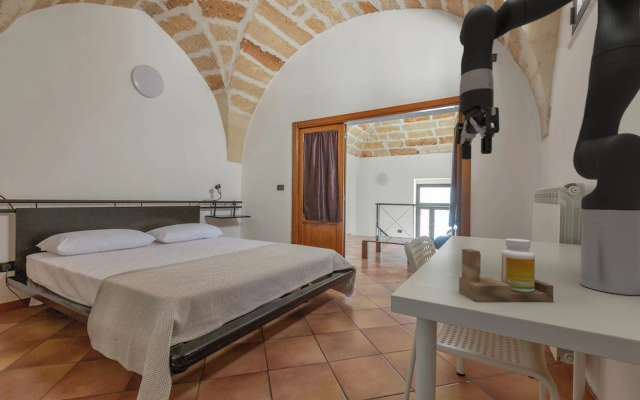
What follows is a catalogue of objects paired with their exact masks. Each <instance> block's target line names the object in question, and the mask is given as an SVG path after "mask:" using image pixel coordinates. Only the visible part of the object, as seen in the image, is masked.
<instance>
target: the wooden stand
mask: <svg viewBox="0 0 640 400" xmlns="http://www.w3.org/2000/svg"><path fill="white" fill-rule="evenodd" d="M481 259H482V258H481V251H480V250H475V249H473V248H462V249H461V276H459V277H458V279H459V281H458V292H459V293H460V294H462V295H463V296H466V297H467V298H469V299H470V300H471V301H474V302H475V303H481V302H482V303H492V302H493V303H496V302H497V303H501V302H502V303H506V302H507V303H518V302H519V303H525V302H527V303H529V302H530V303H534V302H536V303H539V302H540V303H545V302H546V303H553V302H554V285H551V284H549V283H547V282H543V281H540V280H538V279H535V289H534V291H533V292H518V291H513V290H511V285H508V284H506V283H504V282H501V280H499V279H496V278H494V277H491V276H490V277H489V276H488V277H487V276H484V277H483V276H482V277H481Z"/></svg>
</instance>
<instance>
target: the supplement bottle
mask: <svg viewBox="0 0 640 400" xmlns="http://www.w3.org/2000/svg"><path fill="white" fill-rule="evenodd" d="M505 246H506V247H507V248H506V249H505V248H504V249H503V250H502V251H501V278H500V279H501V280H500V281H501V282H504V283H506V284H508V285H511V290H513V291H518V292H533V291H534V289H535V280H536V279H535V278H536V276H535V272H536V271H535V270H536V269H535V267H536V266H535V265H536V261H535V260H536V257H535V254H534V253H533V252H532V251H530V249H531V240H529V239H522V238H506V239H505Z"/></svg>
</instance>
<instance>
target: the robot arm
mask: <svg viewBox="0 0 640 400" xmlns="http://www.w3.org/2000/svg"><path fill="white" fill-rule="evenodd" d="M573 1H574V0H505V1H504V2H503V3H502V5H500V7H499V8H498V9H497V10H494V8H493V7H492V6H490V5H488V4H486V3H480V4H477V5H475V6H473V7H472V8H471V9H470V10H468V11H467V13H466V15H465V16H464V18H463V20H462V24H461V29H460V32H459V42H460V44H461V45H462V46H463V51H462V56H461V61H460V82H459V110H458V111H459V114H461V115H462V116H464V119H463V121H462V122H457V125H456V145H459V146H461V159H462V160H471V159H472V143H473V139H475V138H476V137H477V135H478V134H479V135H480V137H481V138H480V154H481V155H490V154H492V151H493V138H494V137H495V134H498V133H499V132H500V109H499V107H498V106H495V107H494V102H495V101H494V99H495V97H494V96H495V95H494V94H495V93H494V92H495V89H494V86H495V85H494V83H495V82H494V74H493V70H494V69H493V68H494V66H493V65H494V64H493V62H494V58H493V47H494V41H495V40H496V39H498V38H500V37H502V36H504V35H505V34H507V33H508V32H510V31H513V30H515V29H519V28H521V27H522V26H525V25H529V24H531V23H534V22H537V21H539V20H541V19H543V18H545V17H547V16H549V15H552V14H553V13H555V12H556V11H558V10H559V9H561V8H563V7H564V6H567V5H568V4H570V3H571V2H573ZM596 20H597V21H596V22H597V23H596V29H595V36H594V41H593V48H592V54H591V59H590V66H589V73H588V84H587V93H586V98H585V103H584V104H585V105H584V110H583V115H582V116H583V117H582V120H581V124H580V128H579V132H578V133H579V134H578V136H577V140H576V144H575V146H574V147H575V148H574V150H573V151H574V152H573V157H572V163H573V168H574V169H575V172H576V173H577V174H578V176H580V177H581V178H583V179H585V180H590V181H591V180H594V181H595V180H596V185H595V187H594V189H593V190H592V191H591V192H590V193H588V194H586V195H584V196H583V197H582V198H581V201H580V203H581V204H580V209H581V210H580V223H581V224H580V285H582V286H584V287H585V288H589V289H592V290H596V291H601V292H604V293H605V292H606V293H610V294H616V295H617V294H618V295H624V296H625V295H626V296H628V295H629V296H638V295H640V135H638V134H635V133H629V132H623V133H619V131H620V130H619V129H620V125H621V121H622V118H623V116H624V114H625V112H626V111H627V109H628V108H629V106H630V105H631V103H632V102H633V100H634V99H635V97H636V96H637V94H638V93H639V91H640V0H597V19H596ZM492 124H493V126H492Z"/></svg>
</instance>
